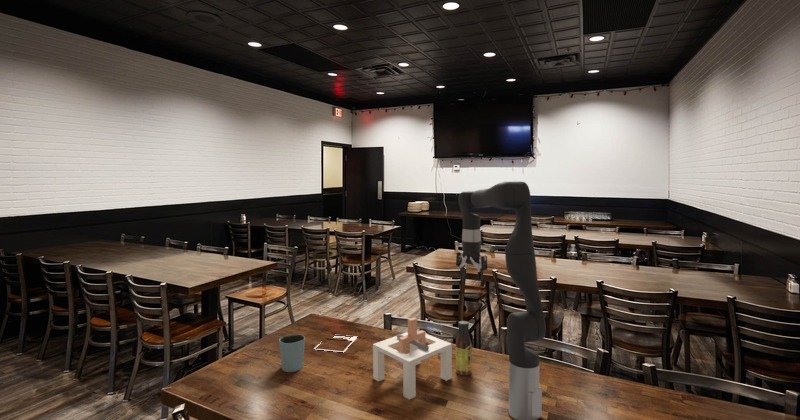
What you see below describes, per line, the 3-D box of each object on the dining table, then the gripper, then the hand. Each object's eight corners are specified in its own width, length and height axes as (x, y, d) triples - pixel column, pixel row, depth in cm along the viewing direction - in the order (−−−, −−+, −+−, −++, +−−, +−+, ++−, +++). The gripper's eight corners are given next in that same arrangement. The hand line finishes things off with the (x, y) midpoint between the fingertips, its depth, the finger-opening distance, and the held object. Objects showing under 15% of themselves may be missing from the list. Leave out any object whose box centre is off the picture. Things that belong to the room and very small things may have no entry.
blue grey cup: (275, 371, 159) (274, 342, 158) (287, 360, 169) (287, 332, 168) (298, 374, 157) (297, 344, 156) (310, 362, 166) (309, 334, 166)
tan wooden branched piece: (419, 356, 158) (420, 313, 157) (429, 360, 154) (429, 316, 153) (395, 366, 149) (395, 321, 148) (404, 370, 145) (404, 324, 144)
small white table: (415, 361, 167) (414, 325, 166) (451, 378, 152) (451, 339, 151) (373, 378, 152) (372, 340, 151) (409, 399, 137) (408, 357, 136)
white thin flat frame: (358, 336, 193) (343, 351, 175) (358, 338, 193) (343, 354, 175) (329, 333, 196) (313, 348, 179) (329, 335, 196) (313, 351, 179)
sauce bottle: (471, 377, 153) (471, 326, 151) (455, 375, 154) (454, 325, 153) (471, 369, 159) (472, 320, 158) (456, 367, 160) (456, 319, 159)
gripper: (491, 240, 162) (491, 280, 163) (463, 237, 172) (463, 274, 173) (480, 242, 156) (480, 283, 158) (452, 239, 167) (452, 277, 168)
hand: (471, 278), depth 165 cm, fingers open, 8 cm apart
